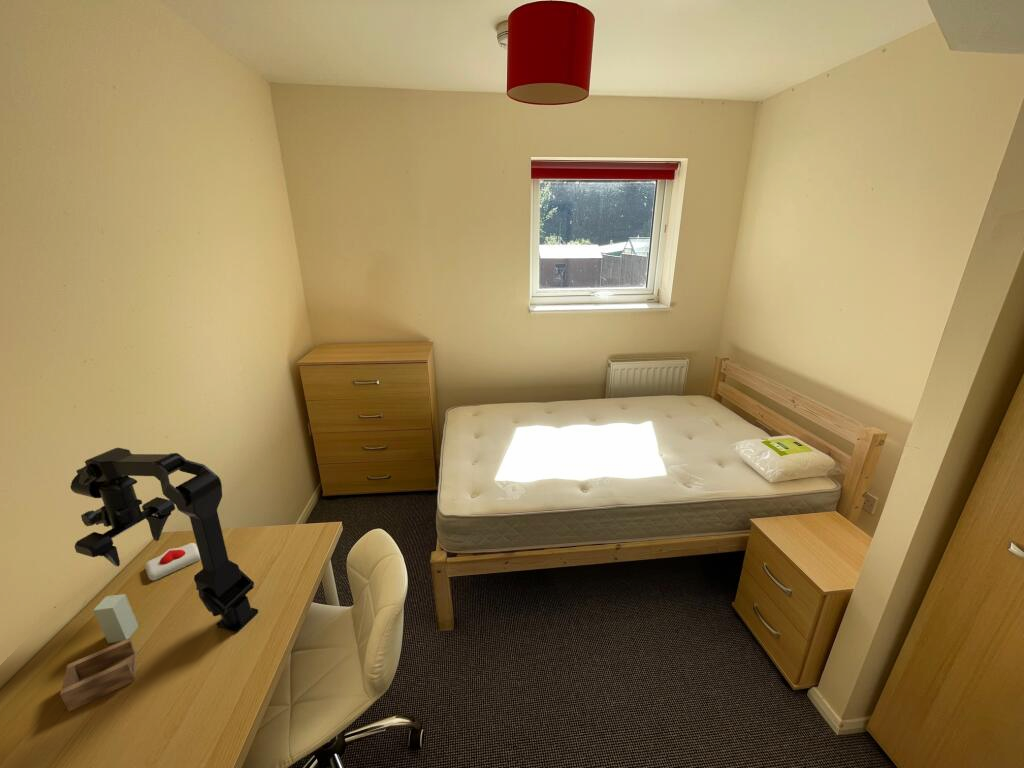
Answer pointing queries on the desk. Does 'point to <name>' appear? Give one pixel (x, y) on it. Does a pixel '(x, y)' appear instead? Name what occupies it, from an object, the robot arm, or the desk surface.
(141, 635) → the desk surface
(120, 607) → the clay bar
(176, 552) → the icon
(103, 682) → the wooden channel cradle
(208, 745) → the desk surface
